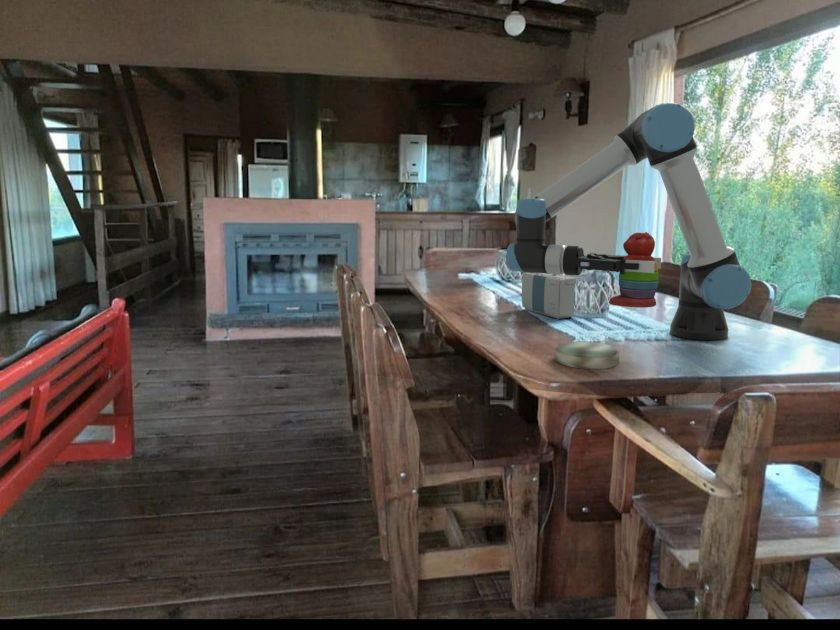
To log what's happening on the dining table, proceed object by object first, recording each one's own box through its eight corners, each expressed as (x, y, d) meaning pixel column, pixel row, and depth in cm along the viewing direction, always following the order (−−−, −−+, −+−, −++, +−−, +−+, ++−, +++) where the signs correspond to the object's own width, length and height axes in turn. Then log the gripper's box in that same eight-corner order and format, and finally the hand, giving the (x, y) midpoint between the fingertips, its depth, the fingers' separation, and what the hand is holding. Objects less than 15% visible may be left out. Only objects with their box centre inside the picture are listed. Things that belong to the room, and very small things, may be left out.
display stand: (619, 355, 160) (620, 343, 160) (617, 371, 146) (618, 358, 146) (558, 351, 165) (559, 339, 164) (551, 366, 151) (551, 353, 151)
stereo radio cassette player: (520, 309, 223) (521, 252, 219) (540, 307, 226) (541, 251, 222) (556, 320, 204) (558, 257, 200) (577, 318, 207) (579, 256, 203)
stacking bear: (628, 299, 166) (632, 230, 163) (665, 304, 159) (670, 232, 155) (605, 304, 159) (609, 232, 155) (643, 309, 152) (648, 234, 148)
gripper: (576, 270, 175) (663, 275, 164) (552, 279, 157) (648, 286, 146) (577, 242, 174) (665, 246, 163) (553, 248, 155) (650, 253, 145)
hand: (657, 265), depth 155 cm, fingers closed on stacking bear, 9 cm apart
